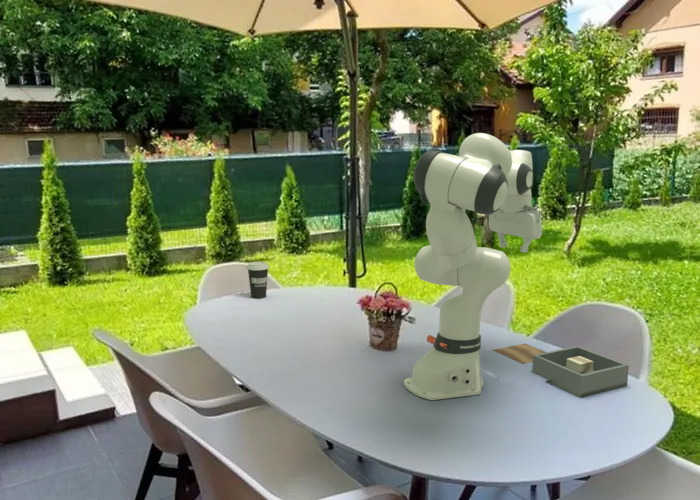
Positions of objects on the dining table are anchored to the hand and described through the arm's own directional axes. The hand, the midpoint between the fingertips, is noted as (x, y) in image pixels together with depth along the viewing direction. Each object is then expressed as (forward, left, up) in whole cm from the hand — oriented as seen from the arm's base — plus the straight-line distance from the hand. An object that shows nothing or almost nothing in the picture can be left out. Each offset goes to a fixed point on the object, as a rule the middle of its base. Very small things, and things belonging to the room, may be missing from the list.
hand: (513, 249), depth 183 cm
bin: (+6, -23, -35) cm, 42 cm away
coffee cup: (-45, +109, -35) cm, 123 cm away
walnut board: (+6, -1, -35) cm, 35 cm away
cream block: (+6, -23, -34) cm, 41 cm away
